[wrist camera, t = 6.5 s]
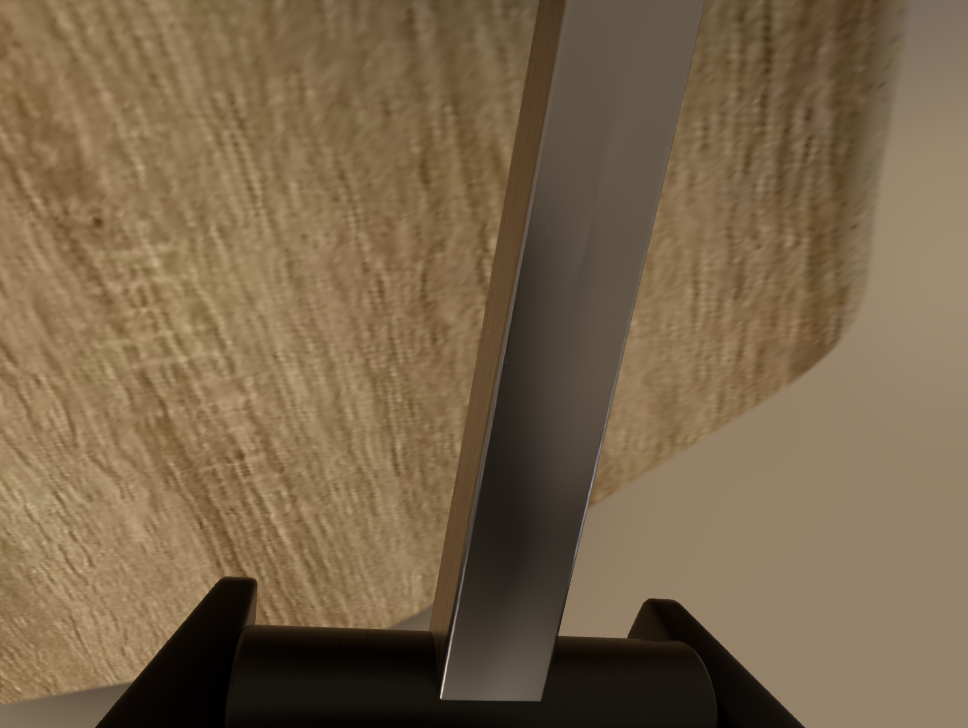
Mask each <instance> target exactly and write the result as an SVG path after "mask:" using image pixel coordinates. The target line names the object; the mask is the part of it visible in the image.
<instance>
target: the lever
mask: <svg viewBox="0 0 968 728" xmlns="http://www.w3.org/2000/svg"><path fill="white" fill-rule="evenodd" d="M704 5H705V0H539V6H538V12H537V17H536V23H535V29H534V34H533V40H532V46H531V52H530V57H529V63H528V69H527V74H526V80H525V86H524V91H523V97H522V103H521V109H520V114H519V120H518V126H517V131H516V137H515V143H514V149H513V154H512V160H511V166H510V171H509V177H508V183H507V188H506V194H505V200H504V206H503V211H502V217H501V223H500V228H499V234H498V240H497V245H496V251H495V257H494V263H493V268H492V274H491V280H490V285H489V291H488V297H487V302H486V308H485V314H484V320H483V325H482V331H481V337H480V342H479V348H478V354H477V359H476V365H475V371H474V377H473V382H472V388H471V394H470V399H469V405H468V411H467V417H466V422H465V428H464V434H463V439H462V445H461V451H460V456H459V462H458V468H457V474H456V479H455V485H454V491H453V496H452V502H451V508H450V513H449V519H448V525H447V531H446V536H445V542H444V548H443V553H442V559H441V565H440V570H439V576H438V582H437V588H436V593H435V599H434V605H433V610H432V616H431V622H430V627H429V631H408V630H383V629H356V628H329V627H302V626H275V625H247V626H245V627H244V628H243V630H242V632H241V634H240V636H239V639H238V643H237V646H236V650H235V654H234V658H233V662H232V667H231V671H230V676H229V681H228V686H227V691H226V697H225V703H224V709H223V715H222V721H221V728H719V720H718V710H717V703H716V697H715V693H714V689H713V685H712V682H711V679H710V676H709V674H708V671H707V669H706V667H705V665H704V663H703V661H702V660H701V658H700V657H699V655H698V654H697V653H696V651H695V650H694V649H693V648H692V647H690V646H689V645H687V644H685V643H683V642H681V641H677V640H654V639H626V638H599V637H572V636H571V637H570V636H558V633H559V629H560V625H561V620H562V616H563V612H564V607H565V603H566V599H567V594H568V590H569V586H570V581H571V577H572V573H573V568H574V564H575V560H576V556H577V551H578V547H579V543H580V538H581V534H582V530H583V525H584V521H585V517H586V513H587V508H588V504H589V500H590V495H591V491H592V487H593V483H594V478H595V474H596V470H597V465H598V461H599V457H600V452H601V448H602V444H603V439H604V435H605V431H606V427H607V422H608V418H609V414H610V409H611V405H612V401H613V396H614V392H615V388H616V384H617V379H618V375H619V371H620V366H621V362H622V358H623V353H624V349H625V345H626V340H627V336H628V332H629V328H630V323H631V319H632V315H633V310H634V306H635V302H636V297H637V293H638V289H639V285H640V280H641V276H642V272H643V267H644V263H645V259H646V254H647V250H648V246H649V241H650V237H651V233H652V229H653V224H654V220H655V216H656V211H657V207H658V203H659V198H660V194H661V190H662V185H663V181H664V177H665V173H666V168H667V164H668V160H669V155H670V151H671V147H672V142H673V138H674V134H675V130H676V125H677V121H678V117H679V112H680V108H681V104H682V99H683V95H684V91H685V86H686V82H687V78H688V74H689V69H690V65H691V61H692V56H693V52H694V48H695V43H696V39H697V35H698V31H699V26H700V22H701V18H702V13H703V9H704Z"/></svg>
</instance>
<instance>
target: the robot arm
mask: <svg viewBox="0 0 968 728" xmlns="http://www.w3.org/2000/svg"><path fill="white" fill-rule="evenodd" d="M256 604H257V581H256V580H255V579H254V578H249V577H229V576H228V577H224V578H221V579H220V580H219V581H218V582H217V583H216V584H215V585H214V587H213V588H212V589H211V590H210V591H209V593H208V594H207V595H206V596H205V597H204V598H203V600H202V601H201V602H200V603H199V604H198V606H197V607H196V608H195V609H194V610H193V612H192V613H191V614H190V615H189V616H188V618H187V619H186V620H185V621H184V622H183V623H182V625H181V626H180V627H179V628H178V629H177V631H176V632H175V633H174V634H173V635H172V637H171V638H170V639H169V640H168V641H167V643H166V644H165V645H164V646H163V647H162V648H161V650H160V651H159V652H158V653H157V654H156V656H155V657H154V658H153V659H152V660H151V662H150V663H149V664H148V665H147V666H146V668H145V669H144V670H143V671H142V672H141V673H140V675H139V676H138V677H137V678H136V679H135V681H134V682H133V683H132V684H131V685H130V687H129V688H128V689H127V690H126V691H125V693H124V694H123V695H122V696H121V697H120V699H119V700H118V701H117V702H116V703H115V704H114V706H113V707H112V708H111V709H110V710H109V712H108V713H107V714H106V715H105V716H104V718H103V719H102V720H101V721H100V722H99V724H98V725H97V726H96V727H95V728H221V721H222V715H223V709H224V703H225V697H226V691H227V686H228V681H229V676H230V671H231V667H232V662H233V658H234V654H235V650H236V646H237V643H238V639H239V636H240V634H241V632H242V630H243V628H244V627H245V626H247V625H255V620H256ZM627 639H654V640H677V641H681V642H683V643H685V644H687V645H689V646H690V647H692V648H693V649H694V650H695V651H696V653H697V654H698V655H699V657H700V658H701V660H702V661H703V663H704V665H705V667H706V669H707V671H708V674H709V676H710V679H711V682H712V685H713V689H714V693H715V697H716V703H717V710H718V720H719V728H805V727H804V726H803V725H802V724H801V723H800V722H799V721H798V720H797V719H796V718H795V717H794V716H793V715H792V714H791V713H790V712H788V710H787V709H786V708H785V707H784V706H782V705H781V703H780V702H779V701H778V700H776V698H775V697H774V696H772V695H771V693H770V692H769V691H768V690H767V689H765V688H764V687H763V686H762V685H761V684H760V683H759V682H758V681H757V680H756V679H755V678H754V677H753V676H752V675H751V674H750V673H749V672H748V671H747V670H746V669H745V668H744V667H743V666H742V665H741V664H740V663H739V662H738V661H737V660H736V659H735V658H734V657H733V656H732V655H731V654H730V653H729V652H728V651H727V650H726V649H725V648H724V647H723V646H722V645H721V644H720V643H719V642H718V641H717V640H716V639H715V638H714V637H713V636H712V635H711V634H710V633H709V632H708V631H707V630H706V629H705V628H704V627H703V626H702V625H701V624H700V623H699V622H698V621H697V620H696V619H695V618H694V617H693V616H692V615H691V614H690V613H689V612H688V611H687V610H686V609H685V608H684V607H683V606H682V605H681V604H679V603H678V602H676V601H674V600H670V599H652V598H651V599H648V600H646V601H645V602H644V603H643V605H642V607H641V609H640V611H639V613H638V615H637V617H636V619H635V621H634V624H633V626H632V628H631V630H630V632H629V634H628V637H627Z"/></svg>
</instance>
